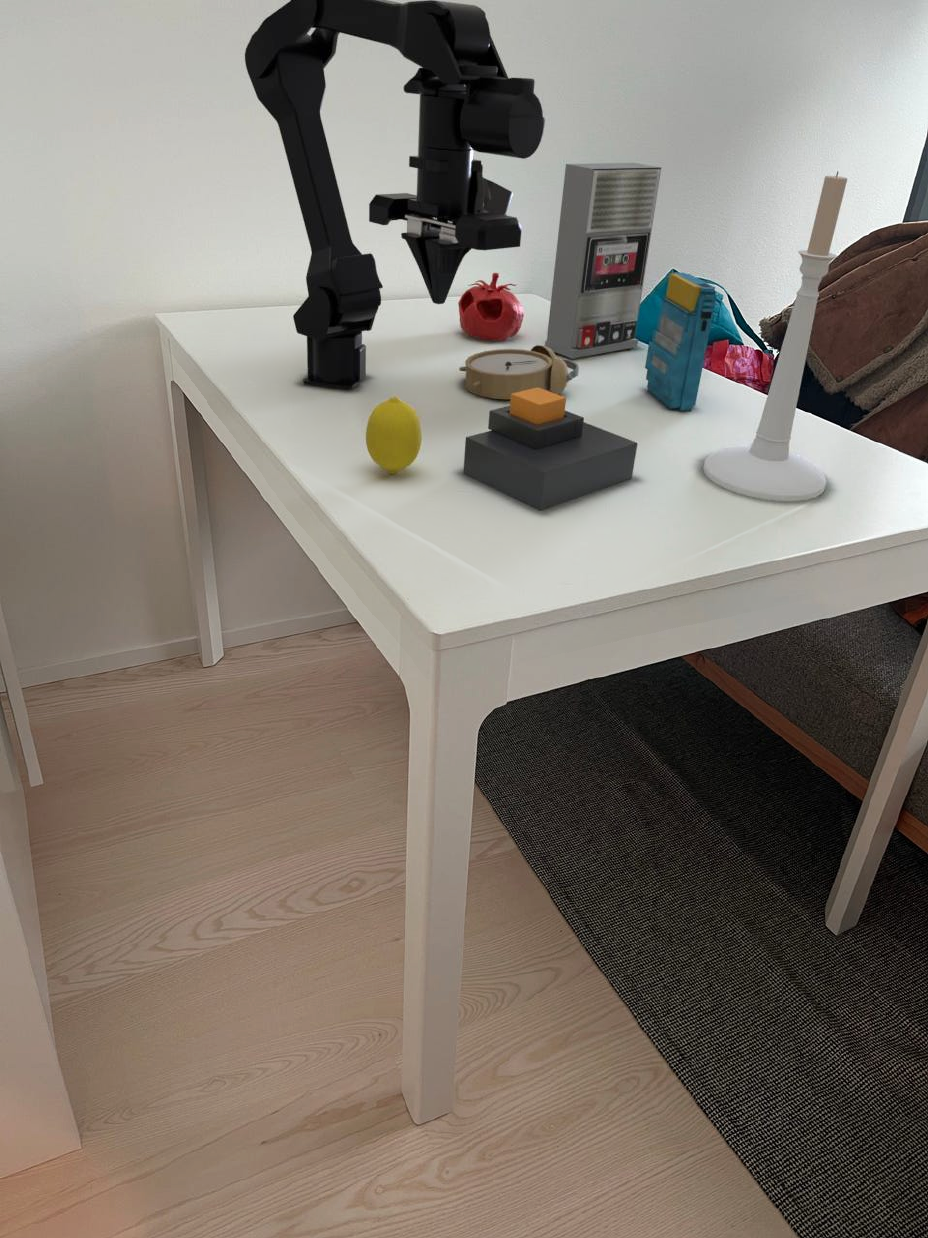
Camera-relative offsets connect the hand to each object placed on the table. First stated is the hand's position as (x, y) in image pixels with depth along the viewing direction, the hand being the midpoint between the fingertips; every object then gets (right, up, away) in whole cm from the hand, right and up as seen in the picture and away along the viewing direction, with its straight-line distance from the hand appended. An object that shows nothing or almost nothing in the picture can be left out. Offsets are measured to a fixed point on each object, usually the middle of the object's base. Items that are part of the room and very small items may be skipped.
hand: (438, 303), depth 105 cm
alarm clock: (+10, -5, +18) cm, 22 cm away
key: (+10, -15, -8) cm, 20 cm away
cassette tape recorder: (+22, +5, +37) cm, 43 cm away
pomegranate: (+7, +8, +40) cm, 41 cm away
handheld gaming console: (+29, -7, +18) cm, 35 cm away
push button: (+12, -20, -7) cm, 24 cm away
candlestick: (+35, -20, -3) cm, 41 cm away
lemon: (-4, -21, -9) cm, 23 cm away
